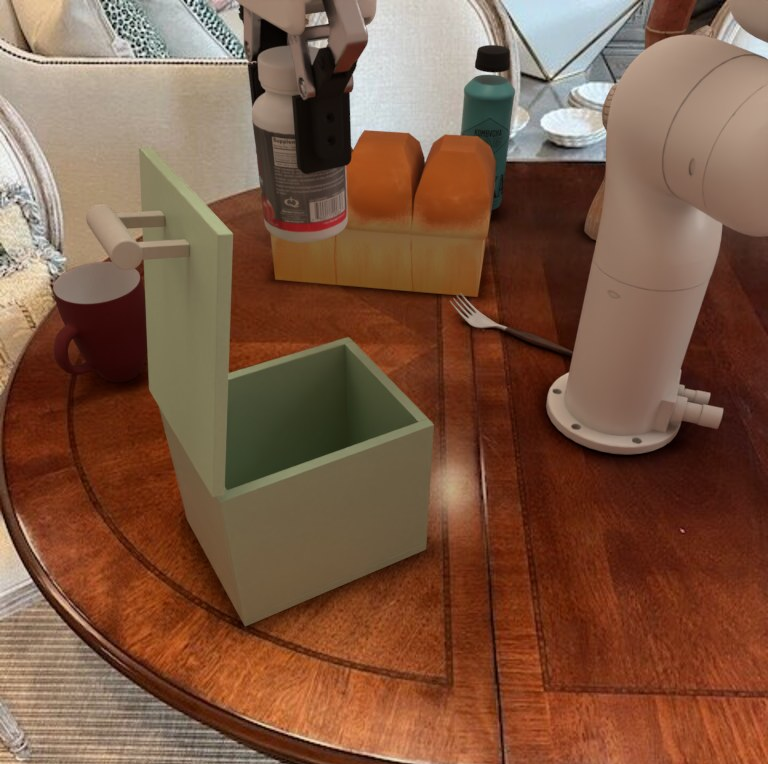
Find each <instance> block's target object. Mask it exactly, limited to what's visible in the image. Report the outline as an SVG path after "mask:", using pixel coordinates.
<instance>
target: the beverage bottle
mask: <svg viewBox="0 0 768 764" xmlns="http://www.w3.org/2000/svg"><path fill="white" fill-rule="evenodd" d="M510 57H511V50H510V49H509V48H508V47H506V46H503V45H496V44H488V45H482V46H479V47H478V48H477V50H476V56H475V60H474V61H475V62H474V68H475V69H476V70H478V71H480V72H483V73H492V74H479V75H476V76H475V77H473V78H471V79H470V81H469V82H467V83H466V84H465V85H464V87H463V103H462V105H463V106H462V115H461V126H460V127H461V128H460V134H459V135H463V136H478V137H479V138H480V139H482V140H483V141H484V142H485V143H487V144H488V145H489V146H490V147H491V150H492V152H493V155H494V158H495V161H496V171H495V189H494V196H493V203H492V209H491V211H494V210H496V209H498V208H499V207H500V206H501V203H502V201H503V200H504V199H503V198H504V192H505V190H504V186H505V184H506V182H505V178H506V175H507V174H506V170H507V169H506V168H507V165H508V163H507V161H508V159H509V158H508V157H509V155H510V154H509V151H510V150H509V148H510V147H509V142H510V137H511V136H512V135H511V126H512V125H511V124H512V116H513V107H514V99H515V94H516V89H515V87H514V86H513V84H512V82H510V81H509V80H508V78H507V77H505V76H502V75H497V74H495V73H504V72H507V71H509V70H510V68H511V67H510V65H511V62H510V61H511V59H510ZM493 73H494V74H493Z"/></svg>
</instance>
